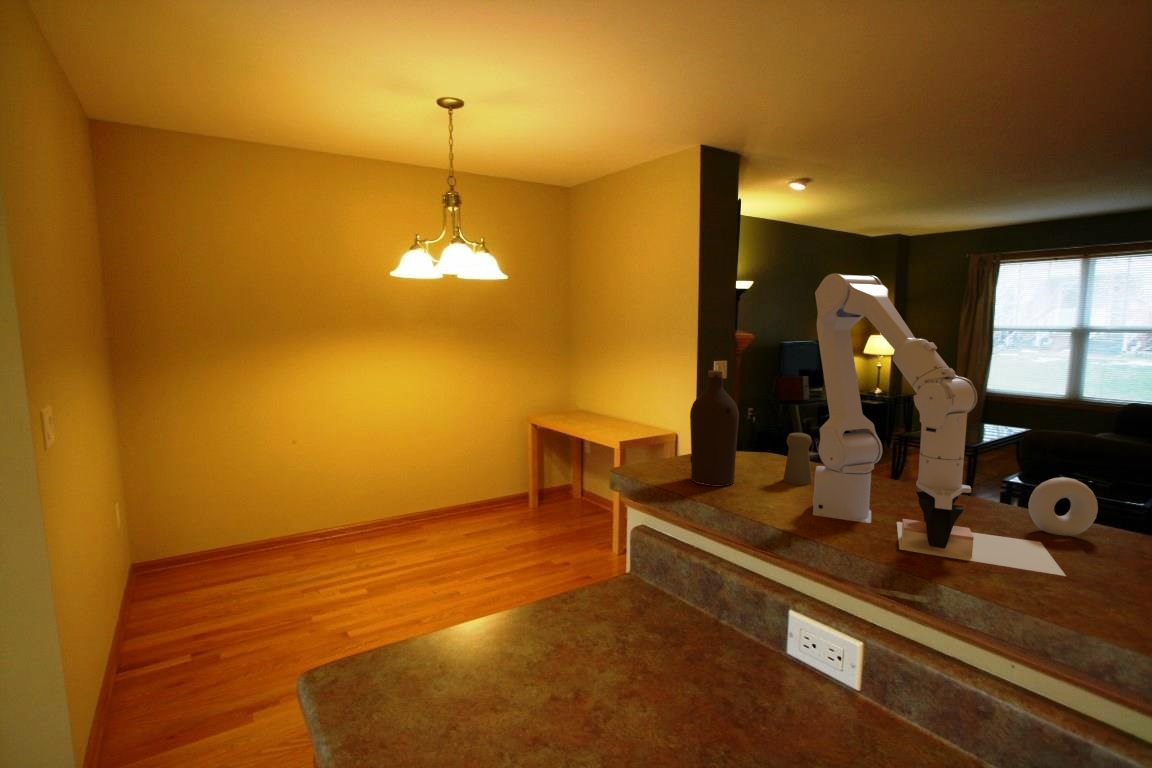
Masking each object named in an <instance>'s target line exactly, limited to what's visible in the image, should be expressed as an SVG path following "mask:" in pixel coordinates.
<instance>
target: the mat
mask: <svg viewBox="0 0 1152 768" xmlns="http://www.w3.org/2000/svg"><path fill="white" fill-rule="evenodd" d="M902 522H903V521H896V526H897V528H896V529H897V530H896V531H897V539H898V550H902V551H907V552H913V553H914V552H915V553H918V554H919V553H920V554H927V555H931V556H938V557H945V558H949V559H958V560H961V561H969V562H975V563H981V564H988V565H994V566H1000V567H1004V568H1005V567H1006V568H1013V569H1019V570H1025V571H1029V572H1037V573H1044V574H1049V575H1055V576H1062V577H1067V575H1066V574H1065V572H1064V571H1063V569H1061V567H1060V566H1059V565H1058V563H1057V562H1056V561H1055V559H1054V558H1053V556H1052V555H1051V554H1050V553H1049V551H1048V550H1047V548H1046V547H1045V546H1044V544H1043V543H1042V542H1041V541H1035V540H1028V539H1023V538H1021V539H1020V538H1014V537H1013V538H1012V537H1007V536H999V535H992V534H987V533H979V532H972V531H971V533H972V535H973V537H974V539H973V552H972V557H970V556H964V555H957V554H951V553H945V552H938V551H932V550H926V549H920V548H913V547H907V546H903V545H902Z"/></svg>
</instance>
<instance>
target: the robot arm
mask: <svg viewBox="0 0 1152 768" xmlns="http://www.w3.org/2000/svg"><path fill="white" fill-rule="evenodd" d="M814 295H815V302H816V310H817V316H816V317H817V319H816V332H817V338H818V345H819V353H820V360H821V366H822V371H823V381H824V385H825V387H824V388H825V393H826V401H827V407H828V413H829V418H828V419H827V420H826V421H825V422H824V424H823V425H821V426H820V427H819V439H820V440H819V443H818V455H819V458H820V460H821V462H822V463H823V465H816V466H815V472H814V485H813V495H812V506H813V508H812V515H813V516H818V517H825V518H832V519H838V520H845V521H853V522H860V523H864V524H865V523H867V524H871V523H872V510H871V509H870V500H871V497H870V496H871V484H872V483H871V482H872V480H871V479H872V470H874V469H875V464H876V463H877V464H878V462H879V461H880V460H881V457H882V455H883V444H882V442H881V440H880V437H878V434H877V432H876V428H875V424H874V423H873V422H872V421H871V420H870V419H868V418H867V417H866V415H864V414H863V409H862V408H863V407H862V401H861V395H860V389H859V383H858V375H857V369H856V363H855V358H854V357H855V356H854V351H853V350H854V349H853V343H852V336H851V331H852V330H851V329H852V328H853V327H854V326H855V325H856V323H858V322H859V321H861V319H864V317H865V318H867V320H868V321H869V322H870V323H871V324H872V326H873V327H874V328H875V329H876V330H877V331H878V332H879V333H880V335H881V336H882V337H883V338H884V340H886V342H887V343H888V344H889V345H890V346H891V347H892V348H893V350H894V351H893V354H892V362H894V364H895V365H896V367H897V369H898V370H899V371H900V372H901V374H902V375H903V377H904V378H905V379H906V380H907V382H908V383H909V385H910V386H911V388H913V390H914V392H915V393H916V394H915V395H913V402H914V406H915V407H916V409H917V411H918V412H919V422H920V424H921V426H920V427H921V428H920V429H921V430H920V443H919V445H920V446H919V447H920V448H919V461H918V462H919V463H918V475H917V476H918V477H917V480H916V482H915V483H916V484H915V486H916V488H917V489H915V492H916V495H917V496H918V500H917V501H918V505H919V507H920V509H921V511H922V513H923V514H922V515H923V522H926V529H927V538H928V543H929V546H931V547H937V548H944V549H945V548H946V546H947V543H948V540H949V537H950V534H951V531H952V528H953V526H955V523H956V522H957V520H958V518H959V517H960V516H961V515H962V513H963V512H964V506H963V505H960V504H959V505H958V504H955V503H956V501H957V500H958V499H959V495H961V494H962V493H966V494H969V493H972V488H971V486H970V485H966V484H963V475H964V474H963V472H964V459H965V458H964V457H965V449H966V447H965V446H966V435H967V433H966V432H967V421H968V413H970V412H971V411H973V409H974V408H976V407H975V406H976V405H977V403H978V393H977V392H978V391H977V389H976V388H975V386H974V384H973V382H972V380H970V379H969V378H966V377H963V376H960V375H959V376H958V375H957V374H956V371H955V370H954V369H953V368H952V367H949V365H947V363H946V362H945V360H943V358H942V357H941V356H940V354H939V353H938V352H937V351H936V350H937V349H938V347H937V345H936V344H935V342H931V341H930V342H929V341H928V339H924V338H916V337H915V336H914V334H913V333H912V331H911V329H910V328H909V326H908V325H907V324H906V322H905V320H903V318H902V316H901V315H900V313H899V312H898V309H896V307H895V305H894V304H893V302H891V299H890V298H889V289H888V288H887V286H885V285H884V284H883V283H882V281H881V279H879V277H877V276H875V275H871V274H867V275H854V274H853V275H852V274H840V273H831V274H828V275H827V276H825V277H824V278H823V280H822V281H821V282H820V284H819V286H818V287H817V288H816V290H815V292H814ZM846 431H848V432H846ZM845 432H846V433H845Z"/></svg>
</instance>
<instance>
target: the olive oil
mask: <svg viewBox="0 0 1152 768" xmlns="http://www.w3.org/2000/svg"><path fill="white" fill-rule="evenodd" d="M723 373H724V371H723V370H708V371H707V375H708V376H707V385H706V386H707V387H706V388H705V390H704V391H703V392H701V394H699V396H698V397H697V398H696V399H694V401H693V403H692V406H691V408H690V412H689V420H690V423H689V425H690V426H689V427H690V428H689V429H690V455H691V456H690V458H689V459H690V463H691V465H690V466H691V473H690V474H691V481H692V480H694V481H696V482H699V483H704V484H710V485H727V484H731V483H733V482H734V483H735V472H736V459H737V447H738V446H737V445H738V444H737V442H738V431H739V421H740V412H739V407H738V406H737V403H736V402H735V400H733V398H732V397H731V396H730V395H729V394H728V392H726V390H725V389H724V387H723V386H724V376H723ZM734 483H733V484H734ZM731 485H732V484H731Z"/></svg>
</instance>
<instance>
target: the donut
mask: <svg viewBox="0 0 1152 768" xmlns="http://www.w3.org/2000/svg"><path fill="white" fill-rule="evenodd" d="M1064 498H1066V499H1068V500H1069V503H1070V508H1069V510H1068V512H1066V514H1064V515H1057V514H1056V512H1055V506H1056V504H1057V503H1058V501H1060V500H1061V499H1064ZM1028 500H1029V501H1028V504H1027V505H1028V514H1029V515H1030V518H1031V520H1032V521H1033V523H1034V524H1035V526H1037V528H1039V529H1040V530H1041V531H1043V532H1044V533H1047V534H1051V535H1054V536H1055V535H1056V536H1070V537H1072V536H1076V535H1079V534H1082V533H1084V532H1085V531H1087V530H1088V529H1089V528H1090V527H1091V526H1092V525H1093V524H1094V522H1095V520H1096V518H1097V515H1098V512H1099V506H1098V499H1097V498H1096V495H1095V494H1094V492H1093V490H1091V488H1089V486H1088V485H1087V484H1085V483H1083V482H1081V481H1079V480H1078V479H1075V478H1070V477H1063V476H1061V477H1054V478H1051V479H1048V480H1045V481H1043V482H1041V483H1040V484H1039V485H1037V486H1036V487H1035V488H1034V490H1033V491H1032V493H1031V495H1030V497H1029V499H1028Z"/></svg>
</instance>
